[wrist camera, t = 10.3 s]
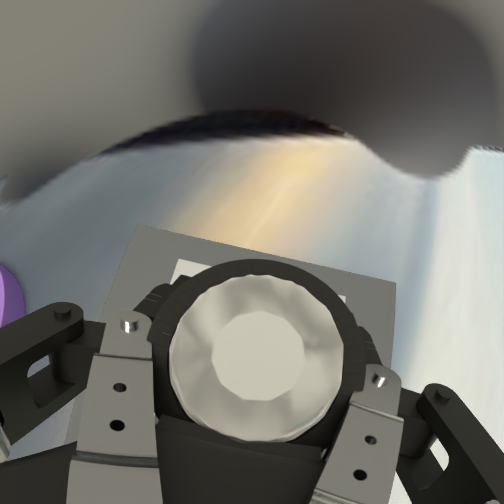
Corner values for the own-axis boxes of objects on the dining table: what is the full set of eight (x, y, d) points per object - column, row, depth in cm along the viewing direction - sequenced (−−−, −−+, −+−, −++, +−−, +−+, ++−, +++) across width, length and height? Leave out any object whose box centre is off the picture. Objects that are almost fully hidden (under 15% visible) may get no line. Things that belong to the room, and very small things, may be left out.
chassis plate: (67, 456, 17) (48, 460, 15) (140, 230, 27) (131, 210, 24) (353, 522, 17) (369, 533, 14) (390, 287, 26) (407, 273, 23)
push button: (189, 316, 17) (137, 202, 8) (289, 308, 17) (341, 189, 8) (198, 441, 14) (138, 484, 5) (306, 431, 14) (398, 453, 5)
